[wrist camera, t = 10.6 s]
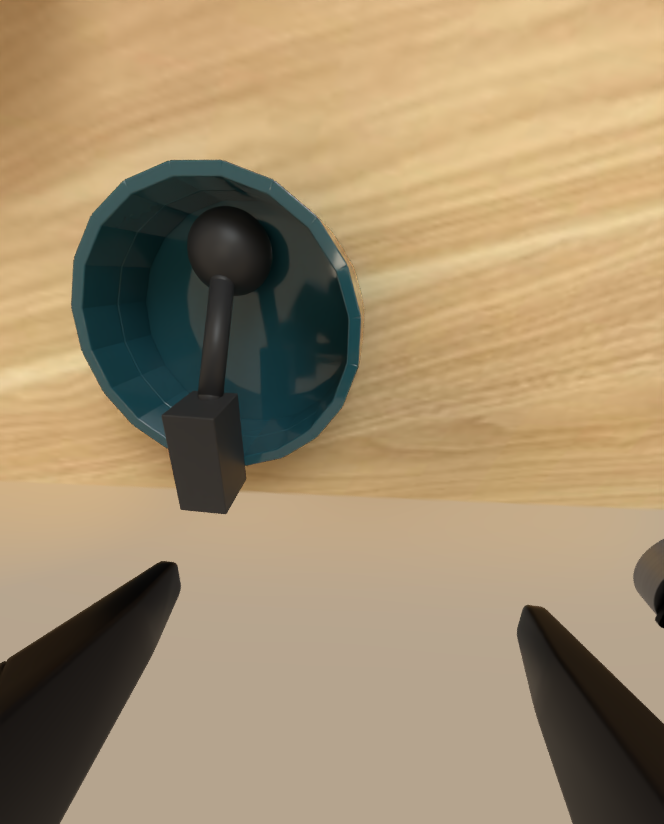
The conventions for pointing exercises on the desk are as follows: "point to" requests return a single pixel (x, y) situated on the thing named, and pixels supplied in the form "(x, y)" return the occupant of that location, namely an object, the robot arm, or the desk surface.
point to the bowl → (188, 297)
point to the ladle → (216, 362)
